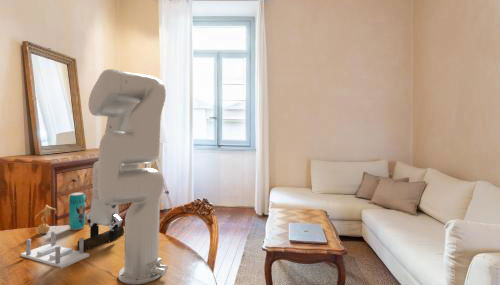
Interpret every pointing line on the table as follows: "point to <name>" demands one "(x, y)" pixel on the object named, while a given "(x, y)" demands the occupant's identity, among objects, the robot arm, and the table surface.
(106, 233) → the dark brown rough rod
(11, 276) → the table surface
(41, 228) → the figurine
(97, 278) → the table surface
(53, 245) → the peg rack
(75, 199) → the beverage can
